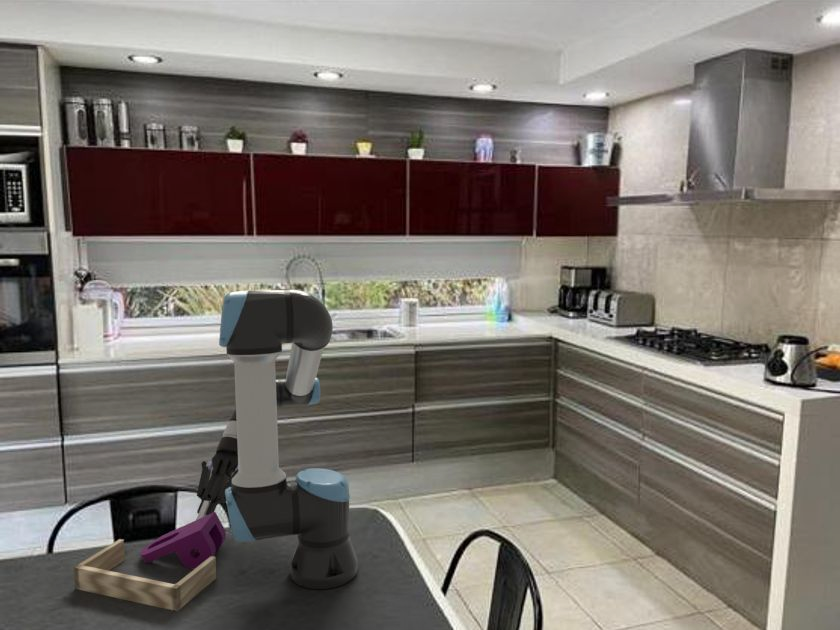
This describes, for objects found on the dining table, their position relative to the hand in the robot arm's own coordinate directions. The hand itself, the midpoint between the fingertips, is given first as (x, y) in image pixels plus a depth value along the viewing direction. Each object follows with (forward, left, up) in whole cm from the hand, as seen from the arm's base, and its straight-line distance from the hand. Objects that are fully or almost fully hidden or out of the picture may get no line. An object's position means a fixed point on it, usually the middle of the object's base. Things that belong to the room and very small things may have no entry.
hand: (198, 527), depth 158 cm
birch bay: (0, +19, -4) cm, 19 cm away
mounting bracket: (0, +7, -5) cm, 8 cm away
